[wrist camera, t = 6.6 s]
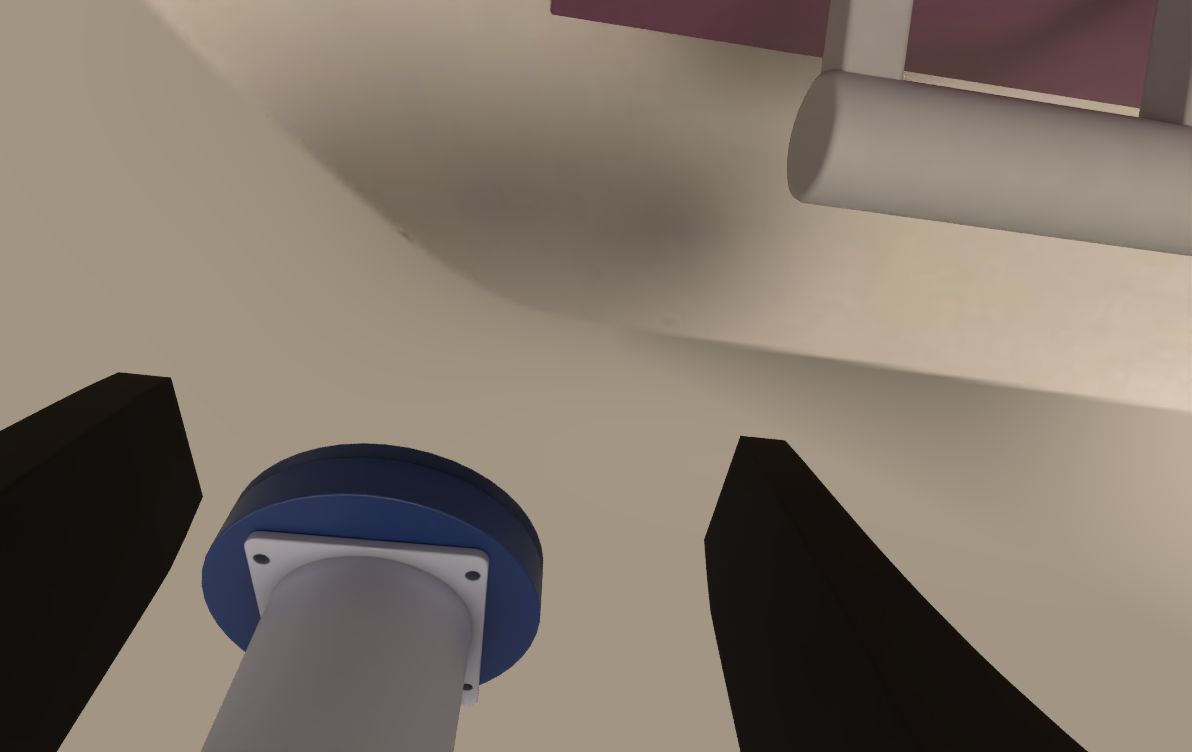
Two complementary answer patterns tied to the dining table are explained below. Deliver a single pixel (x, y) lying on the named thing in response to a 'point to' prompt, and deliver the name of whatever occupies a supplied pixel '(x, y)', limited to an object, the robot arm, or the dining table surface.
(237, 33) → the dining table surface
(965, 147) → the lid
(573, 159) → the dining table surface
